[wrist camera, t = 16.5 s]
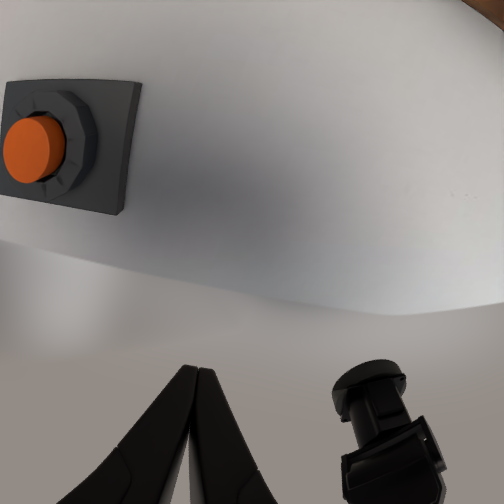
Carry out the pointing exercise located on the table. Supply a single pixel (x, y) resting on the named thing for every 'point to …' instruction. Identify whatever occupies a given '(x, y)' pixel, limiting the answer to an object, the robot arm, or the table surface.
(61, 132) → the button
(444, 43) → the table surface
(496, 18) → the wooden cabinet
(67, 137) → the dark button base
